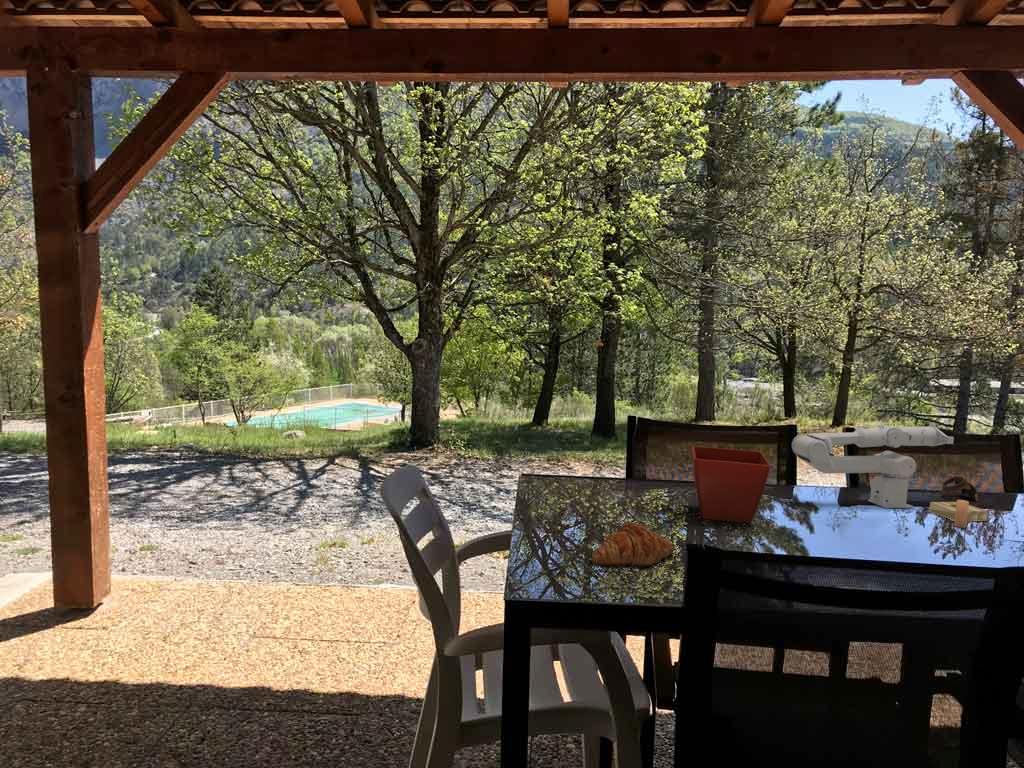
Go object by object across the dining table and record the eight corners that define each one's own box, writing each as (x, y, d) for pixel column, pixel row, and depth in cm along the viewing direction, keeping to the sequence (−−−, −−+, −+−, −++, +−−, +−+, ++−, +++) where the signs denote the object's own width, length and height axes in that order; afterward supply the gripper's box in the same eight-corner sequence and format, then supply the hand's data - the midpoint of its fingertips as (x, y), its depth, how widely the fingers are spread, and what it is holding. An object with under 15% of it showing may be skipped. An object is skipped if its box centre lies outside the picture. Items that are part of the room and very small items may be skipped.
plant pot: (765, 528, 193) (771, 464, 191) (689, 521, 197) (694, 458, 195) (757, 510, 211) (761, 451, 210) (687, 503, 215) (691, 445, 213)
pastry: (660, 578, 154) (663, 540, 153) (588, 565, 160) (590, 529, 159) (674, 554, 170) (676, 520, 169) (608, 544, 175) (610, 510, 174)
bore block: (955, 522, 208) (956, 511, 208) (929, 512, 218) (930, 502, 218) (986, 521, 210) (987, 511, 210) (959, 511, 220) (960, 501, 220)
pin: (959, 527, 202) (962, 502, 202) (951, 524, 205) (954, 499, 204) (968, 527, 203) (971, 502, 202) (960, 524, 206) (963, 499, 205)
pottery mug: (981, 506, 231) (969, 482, 230) (948, 513, 236) (936, 491, 236) (980, 489, 240) (969, 466, 240) (949, 497, 246) (938, 475, 245)
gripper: (934, 426, 216) (977, 426, 218) (902, 418, 230) (942, 418, 232) (932, 451, 217) (975, 450, 218) (900, 441, 231) (941, 441, 233)
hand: (958, 436), depth 225 cm, fingers open, 7 cm apart
